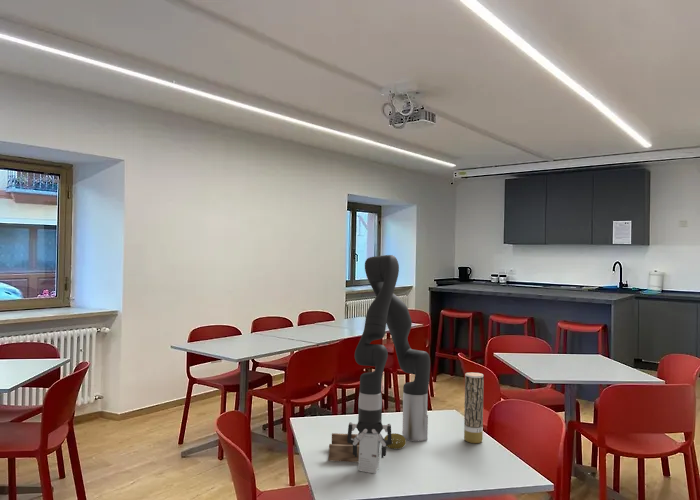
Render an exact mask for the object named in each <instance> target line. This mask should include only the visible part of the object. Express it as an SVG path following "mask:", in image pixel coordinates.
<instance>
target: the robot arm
mask: <svg viewBox="0 0 700 500" xmlns="http://www.w3.org/2000/svg"><path fill="white" fill-rule="evenodd" d="M399 270H400V267H399V261H398V258H397V257H396V256H395V255H393V254H386V255H385V254H383V255H377V256H369V257H368V258H366V259H365V262H364V271H365V275H366V277H367V280H368V283H369V285H370V286H371V289H372V291H373V293H374V295H375V296H376V297H375V298H374V300H373V301H372V302H371V304H370V305H369V307H368V309H367V311H366V315H365V320H364V321H365V322H364V329H363V332H362V334H361V337H360V339H359V342H358V344H357V345H356V347H355V351H354V359H355V360H354V361H355V362H356V363H357V364H358V365H359V366H365V367H375V368H374V371H369V372H368V371H367V372H363V373H362V374H361V375H360V377H359V394H358V395H359V396H358V403H357V404H358V409H357V410H358V415H357V417H358V418H357V419H358V420H357V423H353V422H349V423H348V427H347V434H348V437H347V443H351V444H352V445H353V455H355V457H357V443H358V442H359V441H360V440H361V439H362V437H363V436H364V435H365V434H366V433H373V434H378V441H379V442H380V445H381V450H380V453H381V454H380V455H381V459H384V457H386V454H387V451H386V450H387V445H391V444H392V438H391V434H392V424H391V423H387V424H383V423H382V413H383V411H382V409H383V397H382V384H383V383H382V380H383V375H384V369H385V367H386V363H387V360H388V357H389V355H388V354H389V353H388V349H387V347H386V346H385V345H383V344H378V343H377V344H376V343H375V344H374V343H372V342H374V341H377V340H382V339H383V338H385V334H386V328H387V329H388V332H389V334H390V336H391V339H392V342H393V345H394V348H395V353H396V357H397V361H398V362H397V363H398V364H399V367H400V369H401V370H402V371H403V372H404V373H406V374H409V375H410V374H411V375H414V380H412V381H409V382H406V383H404V384H403V388H402V391H403V393H402V434H401V435H402V436H404V438H405V439H406V441H410V442H424V441H428V434H429V433H428V425H429V415H428V391H429V387H430V386H429V385H430V374H431V357H430V353H428V352H427V351H426V350H425V351H424V350H418V349H412V348H411V346H410V344H409V341H408V337H409V334H410V333H411V329H412V325H413V320H412V317H411V315H410V311H409V309H408V308H409V307H408V306H407V305H406V303H405V302H404V301H403V300H402V299H401V298H400V297H399V296H397V295H396V293H394V292H395V288H396V285H397V281H398V277H399V272H400V271H399ZM356 429H357V431H358V433H356V434H357V436H356V437H355V439H352V438H351V436H352V434H353V432H354V431H355V430H356ZM382 430H384V431H385V433H387V434H386V435H388V440H384V438H385V437H383V435H382V434H381V433H382ZM379 433H380V435H379Z"/></svg>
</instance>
